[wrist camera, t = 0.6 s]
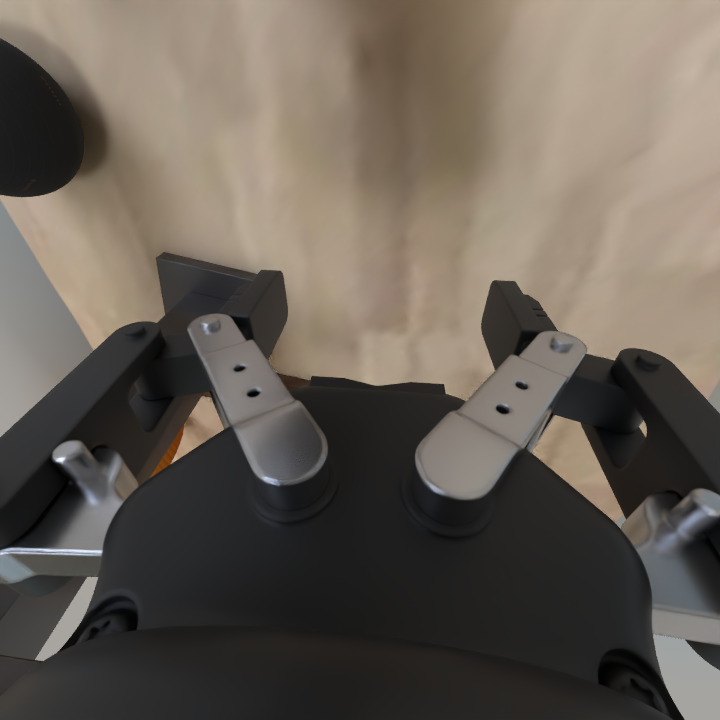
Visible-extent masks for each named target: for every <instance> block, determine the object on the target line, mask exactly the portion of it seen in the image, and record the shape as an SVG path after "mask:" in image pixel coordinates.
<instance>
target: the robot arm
mask: <svg viewBox="0 0 720 720" xmlns="http://www.w3.org/2000/svg"><path fill="white" fill-rule="evenodd" d="M228 300H229V301H227V302H226V303H225V304H224V305H223V307H222V308H221V309H220V310H219V311H218V313H217V314H209V315H204V316H201V317H199V318H196V319H195V320H193V321H192V322H191V323H190V324H189V325H188V327H187V330H188V332H182V333H174V334H166V335H163V333H162V330H161V328H160V326H159V325H158V324H157V323H154V322H137V323H132V324H129V325H126V326H123V327H121V328H119V329H118V330H116V331H115V332H114V333H113V334H111V335H110V336H109V337H108V338H107V339H106V340H105V341H104V342H103V343H102V344H101V345H100V346H99V347H97V348H96V349H95V350H94V351H93V352H92V353H91V354H90V355H89V356H88V357H87V358H86V359H84V361H82V362H81V363H80V364H79V365H78V366H77V367H76V368H75V369H74V370H73V371H72V372H71V373H69V374H68V375H67V376H66V377H65V378H64V379H63V380H62V381H61V382H60V383H59V384H57V385H56V386H55V387H54V388H53V389H52V390H51V391H50V392H49V393H48V394H47V395H46V396H45V397H43V399H41V400H40V401H39V402H38V403H37V404H36V405H35V406H34V407H33V408H32V409H31V410H29V411H28V412H27V413H26V414H25V415H24V416H23V417H22V418H21V419H20V420H19V421H18V422H16V423H15V424H14V425H13V426H12V427H11V428H10V429H9V430H8V431H7V432H6V433H5V434H4V435H3V436H1V437H0V583H1V584H5V585H7V586H8V587H10V588H11V589H13V590H15V591H16V592H18V593H19V594H21V595H22V596H24V597H28V598H35V597H41V596H44V595H47V594H49V593H52V592H54V591H56V590H57V589H59V588H60V587H62V586H63V585H65V584H66V583H67V582H69V581H70V580H71V579H72V578H73V577H74V576H83V577H98V581H97V584H96V587H95V591H94V594H93V597H92V599H91V602H90V604H89V607H88V609H87V612H86V614H85V616H84V618H83V620H82V621H81V623H80V625H79V626H78V627H77V629H76V630H75V632H74V633H73V635H72V636H71V637H70V638H69V640H68V641H67V642H66V643H65V645H64V646H63V647H62V648H61V649H60V650H59V651H58V652H57V653H56V654H54V655H53V656H51V657H50V658H48V659H46V660H45V661H43V662H41V663H40V664H38V665H37V666H35V667H34V668H32V669H31V670H30V671H28V672H27V673H26V674H25V675H23V676H22V677H21V678H20V679H18V680H17V681H16V682H15V683H14V684H13V685H11V686H10V687H9V688H8V689H7V690H6V691H5V692H4V693H3V694H2V695H1V696H0V720H684V718H683V716H682V715H681V713H680V712H679V710H678V709H677V707H676V705H675V703H674V702H673V700H672V698H671V696H670V694H669V692H668V690H667V688H666V686H665V684H664V681H663V678H662V675H661V671H660V667H659V664H658V660H657V656H656V651H655V645H654V640H653V634H656V635H662V636H668V637H674V638H680V639H685V640H686V641H687V643H688V644H689V645H690V646H691V647H692V648H693V649H694V650H695V652H696V653H697V654H699V655H700V656H701V657H702V658H703V659H704V660H705V661H707V662H708V663H709V664H711V665H712V666H714V667H716V668H717V669H719V670H720V414H719V412H718V411H717V410H716V409H715V408H714V407H713V406H712V405H711V404H710V403H709V402H708V401H707V399H706V398H705V397H704V396H703V395H702V394H701V393H700V392H699V391H698V390H697V389H696V388H695V387H694V385H693V384H692V383H691V382H690V381H689V380H688V379H687V378H686V377H685V376H684V375H683V374H682V373H681V371H680V370H679V369H678V368H677V367H676V366H675V365H674V364H673V363H672V362H671V361H669V360H668V359H666V358H664V357H663V356H661V355H658V354H656V353H653V352H651V351H647V350H643V349H636V348H628V349H624V350H622V351H620V353H619V355H618V356H617V358H616V360H615V361H614V360H610V359H606V358H601V357H597V356H593V355H589V354H586V352H587V347H586V345H585V344H584V343H583V342H582V341H581V340H580V339H578V338H576V337H574V336H572V335H570V334H567V333H563V332H559V331H558V330H557V329H556V327H555V326H554V324H553V323H552V321H551V320H550V318H549V317H547V316H548V315H547V314H546V312H545V311H543V308H542V307H541V305H540V304H539V302H538V301H536V300H535V299H533V298H532V297H530V296H529V295H523V293H522V291H521V290H520V288H519V287H518V285H517V283H516V282H515V281H497V280H494V281H493V282H492V284H491V286H490V290H489V294H488V297H487V301H486V305H485V309H484V313H483V317H482V323H481V330H482V335H483V337H484V340H485V343H486V346H487V349H488V351H489V354H490V357H491V360H492V363H493V366H494V368H495V372H494V373H493V374H492V375H491V376H490V377H489V378H488V379H487V380H486V381H485V382H484V383H483V384H482V385H481V386H480V387H479V388H478V390H477V391H476V392H475V393H474V394H473V395H472V396H471V397H470V398H469V399H468V400H467V401H464V400H462V399H460V398H457V397H454V396H451V395H448V394H445V387H444V384H431V383H415V382H409V383H400V384H391V385H383V386H374V385H370V384H366V383H362V382H358V381H354V380H349V379H345V378H334V377H318V376H312V377H311V381H310V384H309V385H307V386H302V387H297V388H294V389H290V390H287V388H286V387H285V385H284V384H283V382H282V381H281V379H280V378H279V376H278V375H277V374H276V372H275V371H274V369H273V368H272V366H271V365H270V363H269V362H268V359H269V357H270V355H271V353H272V350H273V348H274V346H275V344H276V342H277V340H278V338H279V336H280V334H281V332H282V330H283V328H284V326H285V324H286V321H287V317H288V306H287V299H286V292H285V284H284V277H283V273H282V272H281V271H274V270H261V271H260V272H259V274H258V275H257V276H256V278H255V279H254V280H253V281H252V282H247V283H245V284H243V285H242V286H240V287H238V288H237V290H236V291H235V292H234V293H233V295H232V296H231V297H230V298H229V299H228ZM133 384H135V386H136V388H137V390H138V391H137V393H136V394H135V395H134V397H133V398H132V399H131V400H130V402H129V400H128V394H129V390H130V388H131V387H132V385H133ZM203 392H209V393H210V396H211V398H212V401H213V403H214V405H215V408H216V410H217V413H218V415H219V417H220V420H221V422H222V424H223V427H224V430H223V431H221V432H220V433H218V434H217V435H215V436H214V437H212V438H210V439H209V440H207V441H206V442H204V443H203V444H201V445H200V446H198V447H197V448H195V449H194V450H192V451H190V452H189V453H187V454H186V455H184V456H183V457H181V458H180V459H178V460H177V461H175V462H174V463H172V464H170V465H169V466H167V467H166V468H164V469H163V470H161V471H160V472H158V473H157V474H155V475H154V476H152V477H151V478H149V479H148V480H146V481H145V482H144V483H142V484H141V485H140V486H138V482H137V480H136V478H137V476H138V475H139V473H140V471H141V470H142V468H143V466H144V465H145V463H146V462H147V460H148V458H149V457H150V455H151V453H152V452H153V450H154V448H155V447H156V445H157V444H158V442H159V440H160V439H161V437H162V435H163V434H164V432H165V430H166V429H167V427H168V426H169V424H170V422H171V421H172V419H173V417H174V416H175V414H176V412H177V411H178V409H179V408H180V406H181V404H182V403H183V401H184V399H185V397H186V395H190V394H197V393H203ZM555 415H557V416H561V417H564V418H568V419H571V420H575V421H578V422H581V425H582V428H583V430H584V432H585V434H586V436H587V438H588V440H589V442H590V444H591V447H592V449H593V451H594V453H595V455H596V457H597V459H598V461H599V463H600V465H601V468H602V470H603V472H604V474H605V476H606V478H607V480H608V482H609V484H610V486H611V489H612V491H613V493H614V495H615V497H616V499H617V501H618V503H619V505H620V507H621V510H622V512H623V514H624V516H625V518H626V520H625V522H624V523H623V524H622V527H621V529H620V528H619V527H618V526H617V525H616V524H615V523H614V522H613V521H612V520H611V519H610V518H609V517H608V516H607V515H606V514H604V513H603V512H602V511H601V510H599V509H598V508H597V507H596V506H595V505H593V504H592V503H591V502H590V501H589V500H587V499H586V498H585V497H584V496H583V495H581V494H580V493H579V492H578V491H577V490H575V489H574V488H573V487H572V486H571V485H569V484H568V483H567V482H566V481H565V480H563V479H562V478H561V477H560V476H559V475H557V474H556V473H555V472H554V471H553V470H551V469H550V468H549V467H548V466H547V465H545V464H544V463H543V462H542V461H540V460H539V459H538V458H537V457H536V456H534V455H533V454H532V452H533V450H534V448H535V447H536V445H537V444H538V442H539V440H540V439H541V437H542V435H543V434H544V432H545V431H546V429H547V427H548V426H549V424H550V423H551V421H552V419H553V418H554V416H555ZM643 420H644V422H645V423H646V427H647V436H646V437H645V436H644V434H643V433H642V431H641V430H640V428H639V426H640V424H641V423H642V422H643Z"/></svg>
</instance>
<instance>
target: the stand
mask: <svg viewBox="0 0 720 720" xmlns="http://www.w3.org/2000/svg"><path fill="white" fill-rule="evenodd" d="M156 261H157V267H158V273H159V279H160V285H161V291H162V297H163V303H164V309H165V316H164V317H163V318H162V319H161V320H160V321H159V322H158V323H157V324H158V325H159V326H160V328H161V330H162V333H163V335H166V334H174V333H182V332H188V330H187V327H188V325H189V324H190V323H191V322H192V321H193V320H195V319H196V318H199V317H201V316H204V315H209V314H217V313H218V311H219V310H220V309H221V308H222V307H223V305H224V304H225V303H226V302H227V301H229V300H228V299H229V298H230V297H231V296H232V295H233V293H234V292H235V291H236V290H237V288H238V287H240V286H242V285H243V284H245V283H247V282H252V281H253V280H254V279H255V278H256V276H257V275H258V274H254V273H250V272H245V271H241V270H237V269H233V268H228V267H224V266H220V265H216V264H211V263H207V262H203V261H199V260H194V259H190V258H186V257H182V256H177V255H173V254H169V253H165V252H163V253H162V254H161V255H159V256H158V257H156ZM137 391H138V390H137V388H136V386H135V384H133V385H132V387H131V388H130V390H129V394H128V400H129V402H130V400H131V399H132V398H133V397H134V395H135V394H136V393H137ZM203 393H204V392H203ZM203 393H197V394H190V395H186V397H185V399H184V401H183V403H182V404H181V406H180V408H179V409H178V411H177V412H176V414H175V416H174V417H173V419H172V421H171V422H170V424H169V426H168V427H167V429H166V430H165V432H164V434H163V435H162V437H161V439H160V440H159V442H158V444H157V445H156V447H155V448H154V450H153V452H152V453H151V455H150V457H149V458H148V460H147V462H146V463H145V465H144V466H143V468H142V470H141V471H140V473H139V475H138V476H137V478H136V480H137V482H138V486H140V485H141V484H142V483H144V482H145V481H146V480H148V479H149V478H150V477H151V475H152V474H153V472H154V470H155V469H156V467H157V466H158V464H159V463H160V461H161V459H162V458H163V456H164V455H165V453H166V452H167V450H168V448H169V447H170V445H171V444H172V442H173V440H174V439H175V437H176V436H177V434H178V433H179V431H180V429H181V428H182V426H183V425H184V423H185V422H186V420H187V418H188V417H189V415H190V414H191V412H192V410H193V409H194V407H195V406H196V404H197V403H198V401H199V399H200V398H201V396H202V395H203ZM86 578H87V577H83V576H74V577H73V578H72V579H71V580H70V581H69V582H67V583H66V584H65V585H63V586H62V587H60V588H59V589H57V590H56V591H54V592H52V593H49V594H47V595H44V596H41V597H35V598H28V597H24V596H22V595H21V594H19V593H18V592H16V591H15V590H13V589H11V588H10V587H8V586H7V585H5V584H1V583H0V696H1V695H2V694H3V693H4V692H5V691H6V690H7V689H8V688H9V687H10V686H11V685H13V684H14V683H15V682H16V681H17V680H18V679H20V678H21V677H22V676H23V675H25V674H26V673H27V672H28V671H30V670H31V669H32V668H34V667H35V666H37V665H38V664H40V663H41V662H43V661H38V660H35V658H36V657H37V655H38V654H39V652H40V651H41V649H42V647H43V646H44V644H45V643H46V641H47V639H48V638H49V636H50V634H51V633H52V632H53V630H54V628H55V627H56V625H57V624H58V622H59V621H60V619H61V617H62V616H63V614H64V613H65V611H66V609H67V608H68V606H69V605H70V603H71V602H72V600H73V598H74V597H75V595H76V594H77V592H78V590H79V589H80V587H81V586H82V584H83V583H84V581H85V579H86Z"/></svg>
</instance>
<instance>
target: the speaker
mask: <svg viewBox="0 0 720 720" xmlns="http://www.w3.org/2000/svg"><path fill="white" fill-rule="evenodd" d="M83 155H84V137H83V132H82V128H81V124H80V121H79V119H78V116H77V114H76V112H75V110H74V108H73V106H72V104H71V102H70V101H69V99H68V97H67V96H66V94H65V93H64V92H63V90H62V89H61V88H60V86H59V85H58V84H57V83H56V82H55V80H54V79H53V78H52V77H51V76H50V75H49V74H48V73H47V72H46V71H45V70H44V69H43V68H42V67H41V66H40V65H39V64H37V63H36V62H35V61H34V60H33V59H31V58H30V57H29V56H27V55H26V54H25V53H23V52H22V51H20V50H19V49H17V48H16V47H14V46H13V45H11V44H9V43H8V42H6V41H4V40H2V39H0V195H5V196H13V197H33V196H40V195H45V194H48V193H51V192H54V191H56V190H58V189H60V188H62V187H63V186H65V185H66V184H67V183H69V182H70V181H71V180H72V179H73V177H74V176H75V175H76V173H77V172H78V170H79V168H80V166H81V163H82V160H83Z"/></svg>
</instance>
